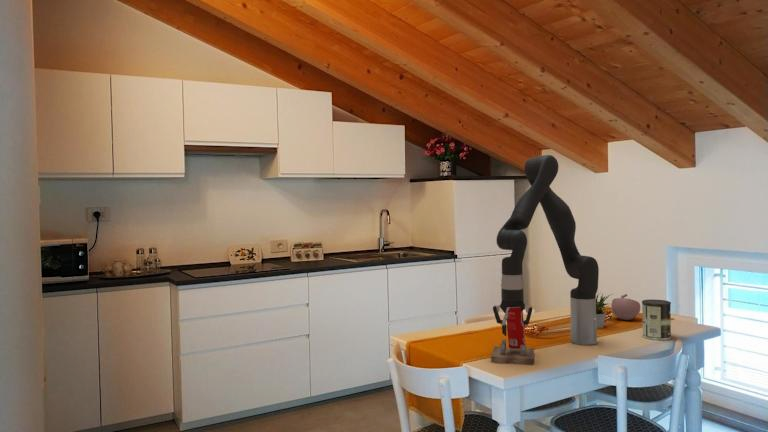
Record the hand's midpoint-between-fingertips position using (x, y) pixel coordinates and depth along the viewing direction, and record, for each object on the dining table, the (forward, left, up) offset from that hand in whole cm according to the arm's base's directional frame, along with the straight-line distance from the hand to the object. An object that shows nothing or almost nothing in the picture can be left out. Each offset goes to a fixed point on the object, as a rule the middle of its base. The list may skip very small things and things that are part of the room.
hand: (512, 335), depth 198 cm
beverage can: (-1, 0, -5) cm, 5 cm away
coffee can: (-53, -41, -8) cm, 67 cm away
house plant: (-31, -55, -8) cm, 64 cm away
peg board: (0, 0, -8) cm, 8 cm away
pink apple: (-46, -72, -8) cm, 86 cm away
